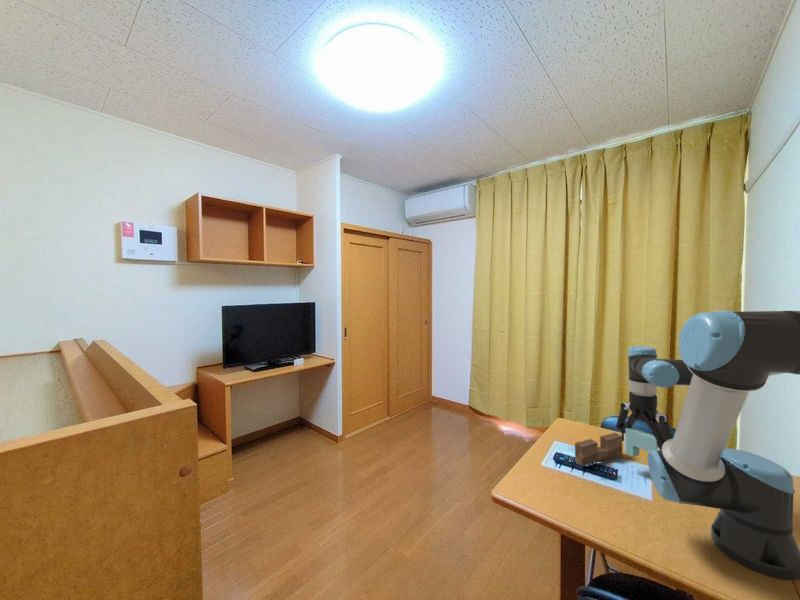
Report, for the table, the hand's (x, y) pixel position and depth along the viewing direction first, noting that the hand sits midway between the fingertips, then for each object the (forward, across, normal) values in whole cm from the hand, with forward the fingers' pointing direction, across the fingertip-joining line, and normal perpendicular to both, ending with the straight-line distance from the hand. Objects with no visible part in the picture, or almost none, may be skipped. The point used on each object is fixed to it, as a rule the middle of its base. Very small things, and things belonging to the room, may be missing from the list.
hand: (643, 458), depth 107 cm
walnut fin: (+7, +14, +3) cm, 16 cm away
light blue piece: (0, 0, 0) cm, 0 cm away
